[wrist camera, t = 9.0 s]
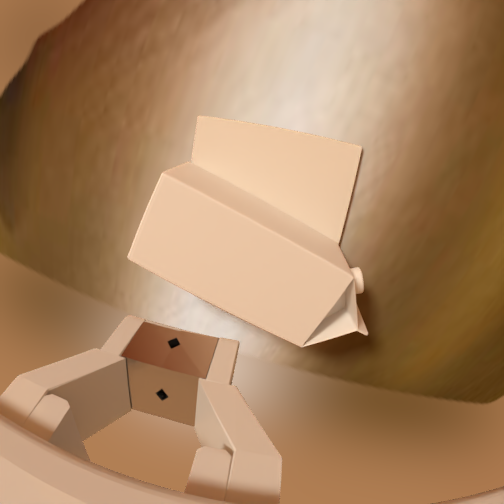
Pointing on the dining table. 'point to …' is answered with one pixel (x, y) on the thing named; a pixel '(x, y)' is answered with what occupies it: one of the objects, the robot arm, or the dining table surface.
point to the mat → (282, 168)
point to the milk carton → (247, 258)
